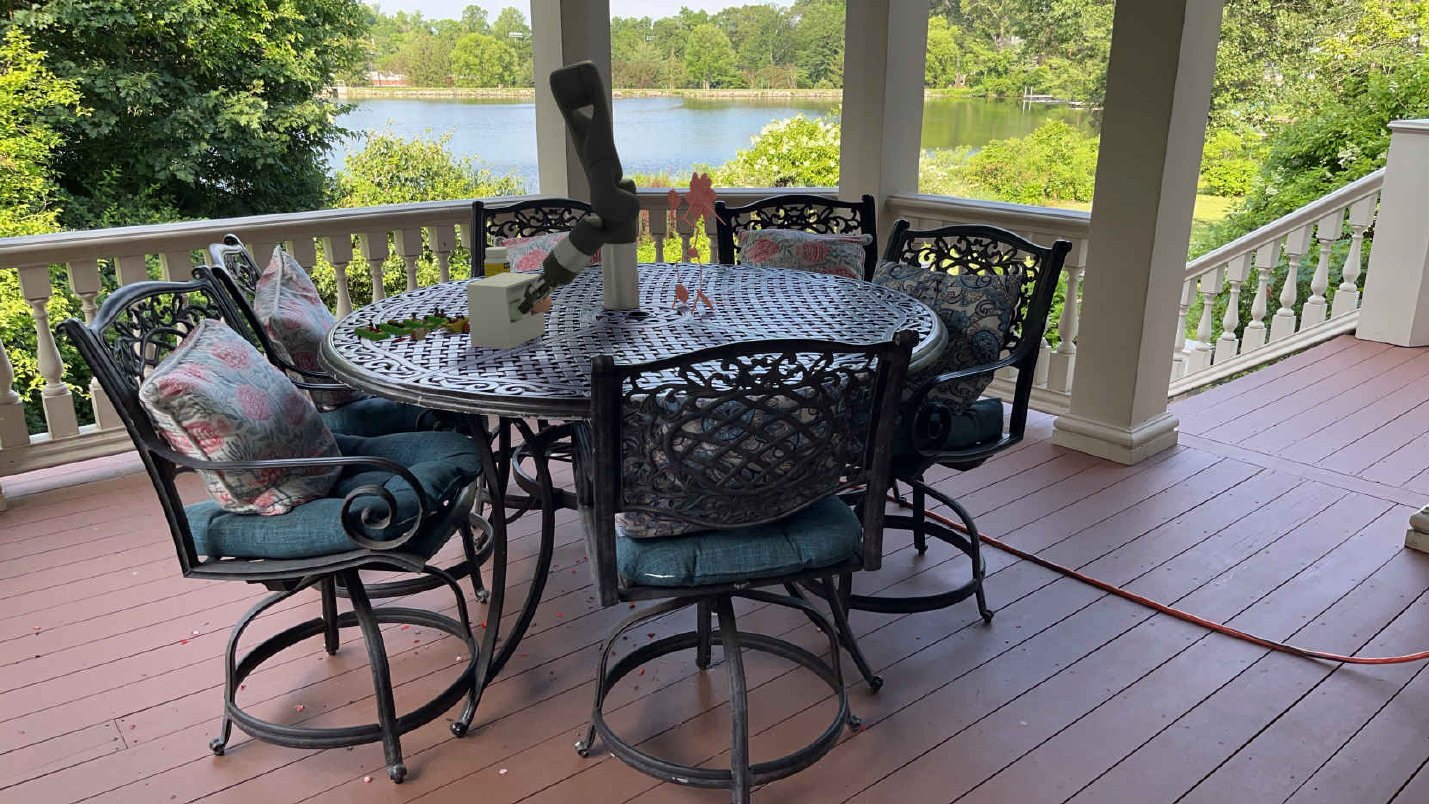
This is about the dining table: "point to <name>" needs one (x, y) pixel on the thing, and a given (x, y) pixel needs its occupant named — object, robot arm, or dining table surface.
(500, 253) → the supplement bottle
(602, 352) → the dining table surface
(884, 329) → the dining table surface
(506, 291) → the console
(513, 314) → the green button
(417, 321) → the toy garden set
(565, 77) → the robot arm
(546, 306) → the terracotta button
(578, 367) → the dining table surface
